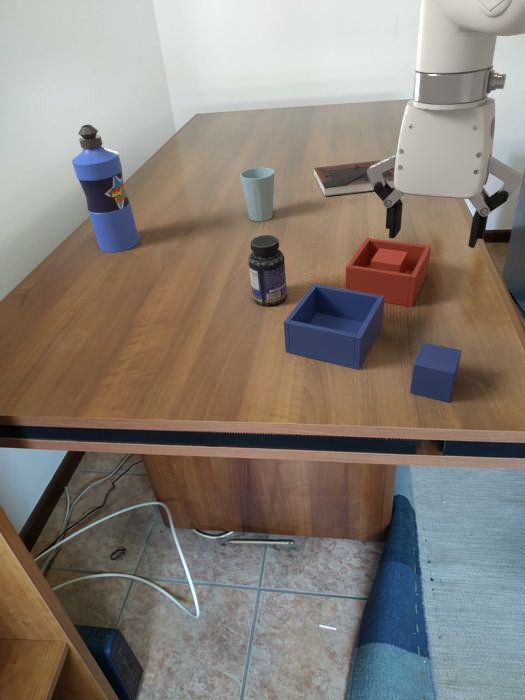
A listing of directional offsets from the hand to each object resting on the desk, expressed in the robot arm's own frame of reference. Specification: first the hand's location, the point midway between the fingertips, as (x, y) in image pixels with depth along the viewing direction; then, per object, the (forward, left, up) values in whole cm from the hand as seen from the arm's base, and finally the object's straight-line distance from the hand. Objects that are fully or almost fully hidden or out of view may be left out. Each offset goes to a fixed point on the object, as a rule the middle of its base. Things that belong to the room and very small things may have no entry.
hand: (432, 238), depth 63 cm
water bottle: (+70, -16, -18) cm, 74 cm away
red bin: (+9, -17, -18) cm, 26 cm away
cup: (+45, -38, -18) cm, 62 cm away
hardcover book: (+30, -66, -18) cm, 75 cm away
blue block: (-4, +7, -18) cm, 20 cm away
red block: (+9, -17, -17) cm, 26 cm away
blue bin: (+12, +2, -18) cm, 22 cm away
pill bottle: (+27, -6, -18) cm, 33 cm away
